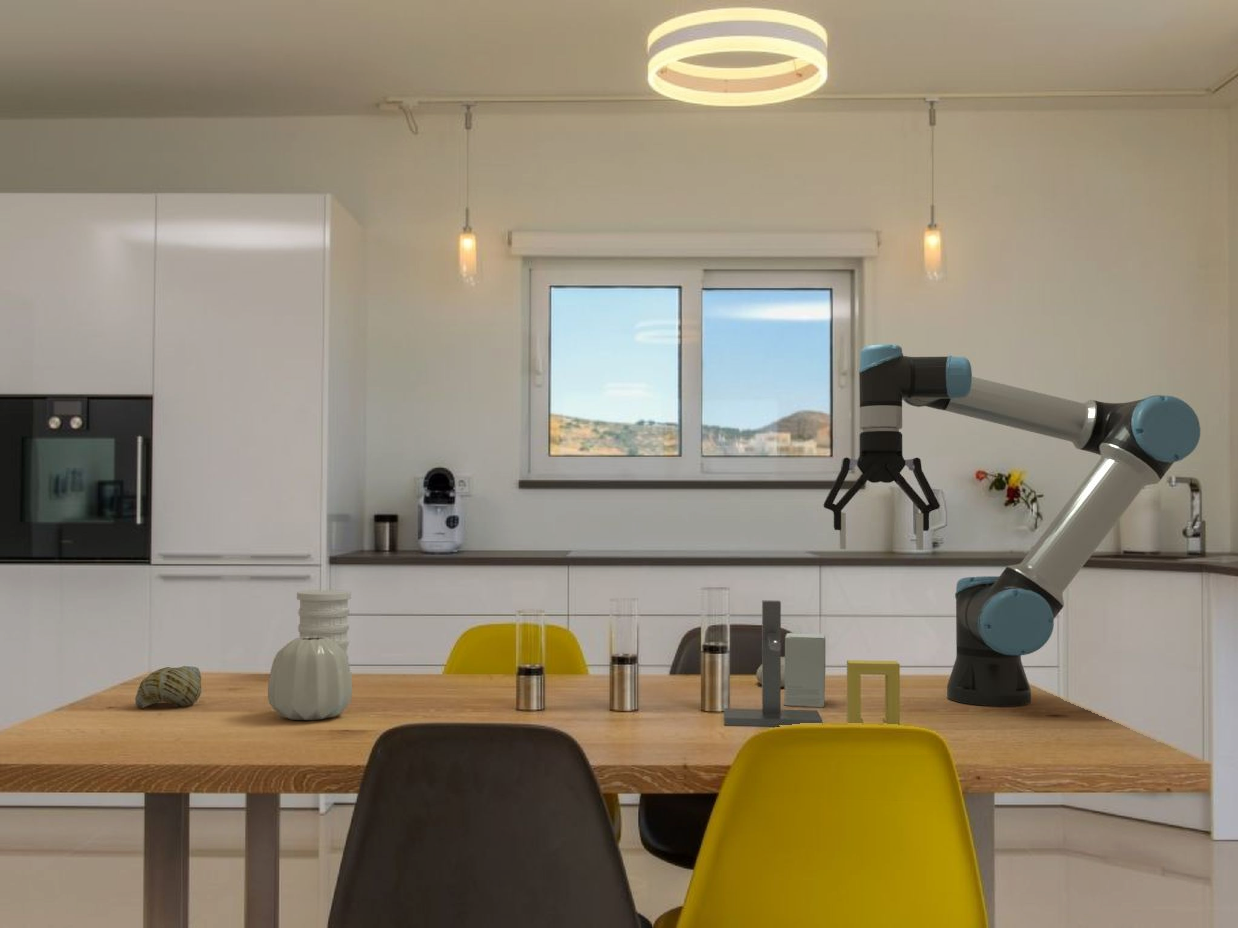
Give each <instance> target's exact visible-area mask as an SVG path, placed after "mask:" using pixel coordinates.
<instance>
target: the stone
mask: <svg viewBox="0 0 1238 928" xmlns="http://www.w3.org/2000/svg"><path fill="white" fill-rule="evenodd" d="M755 677H756V681H757V682H759V683H760V684H761V685H762V663H761V664H760V666H759V667H758V668H757V670H756V673H755ZM781 688H785V656H781Z"/></svg>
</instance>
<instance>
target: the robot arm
mask: <svg viewBox="0 0 1238 928" xmlns="http://www.w3.org/2000/svg"><path fill="white" fill-rule="evenodd" d="M859 354H860V357H859V371H858V374H859V378H858V379H859V380H858V381H859V429H860V430H862V432H860V433H859V456H858V459H854V458H849V457H844V458H842V460H841V466H840V471H839V473H838V474H837V477H836V479H835V481H834V482H833V484H832V487H831V489H830V491H829V492H828V494H827V496H826V499H825V501H824V503H823V508H824V509H827V510H829V511H831V512H832V514H833V529H834V531H839V549H840V550H846V544H847V541H846V540H847V537H846V536H847V532H846V531H847V530H846V529H847V527H846V526H847V525H846V524H847V523H846V521H847V520H846V519H847V517H846V516H847V515H846V512H842V510H843V509H844V508H845V507H846V506H847V504H848V503H849V502H850V501H851V500H852V499H853V497H854V496H856V494H857V493H858V492H859V491H860V490H861V488H862V487H863V486H864V485H865V484H866V483H867V482H870V483H872V484H873V483H874V484H875V483H876V484H877V483H885V484H887V483H889V484H890V483H893V482H894V483H895V484H897V486H898V487H899V488H900V489H901V490H902V491H903V492H904V494H906V496H907V497H908V498H909V500H911V502H912V503H913V504H914V505H915V506H916V507H917V509H918V510H919V511H920V512H915V513H916V514H915V525H916V526H915V529H916V530H915V533H916V534H915V536H916V537H915V539H916V540H915V543H916V545H915V549H916V550H919V551H924V532H929V530H930V513H931V512H932V511H936V510H939V509H940V507H941V505H940V503H939V501H938V499H937V496H936V495H935V493H934V490H933V489H932V487H931V484H930V483H929V481H928V479H927V477H926V476H925V473H924V471H923V468H922V467H923V466H922V461H921V459H920V457H914V458H911V459H905V458H904V456H903V433H902V432H901V431H900V430H901V429H903V401H904V403H906V404H907V405H908V406H909V405H910V406H912V407H916V408H921V407H928V408H932V409H934V410H935V409H936V410H941V411H945V412H949V413H953V414H958V415H962V416H965V417H970V418H974V419H978V420H982V421H986V422H989V423H994V424H998V425H1001V426H1006V427H1011V428H1014V429H1018V430H1023V431H1027V432H1031V433H1035V434H1039V435H1044V436H1045V437H1050V438H1055V439H1059V440H1062V441H1067V442H1070V443H1072V444H1073V445H1074V447H1075V449H1077V450H1081V451H1085V452H1090V453H1092V454H1095V455H1099V456H1100V459H1099V461H1098V462H1097V463H1096V465H1095V466H1094V467H1093V468H1092V469H1091V471H1090V472H1089V474H1088V475H1087V476H1086V477H1085V479H1084V480H1083V481H1082V483H1081V484H1080V485H1079V486H1078V488H1077V489H1076V490H1075V492H1074V493H1073V494H1072V496H1071V497H1070V498H1069V500H1068V501H1067V502H1066V503H1065V505H1064V506H1063V507H1062V508H1061V510H1060V512H1059V513H1057V515H1056V516H1055V518H1054V519H1053V520H1052V522H1051V523H1050V524H1049V526H1048V527H1047V529H1046V530H1045V531H1043V533H1042V535H1041V536H1040V538H1038V540H1037V542H1036V543H1035V544H1034V545H1033V547H1032V548H1031V549H1030V551H1029V552H1028V553H1027V555H1026V556H1025V557H1024V558H1023V560H1022V561H1021V562H1020V563H1018V564H1011V565H1007V566H1006V567H1005V568H1004V570H1003V571H1002V573H1001V574H1000V575H999V576H997V575H996V576H993V575H991V576H967V577H962V578H960V579H959V580H958V581H957V582H956V590H955V594H954V597H955V614H956V616H955V621H956V622H955V624H956V625H955V626H956V627H955V628H956V630H955V634H956V636H955V639H956V645H955V646H956V658H955V661H954V663H953V667H952V670H951V673H950V676H949V679H948V682H947V687H946V698H947V699H949V700H951V701H954V702H959V703H962V704H963V703H964V704H970V705H978V706H991V707H1009V706H1011V707H1012V706H1013V707H1015V706H1023V705H1028V704H1030V703H1032V690H1031V686H1030V684H1029V681H1028V677H1027V675H1026V672H1025V669H1024V668H1025V667H1024V665H1023V663H1022V656H1026V655H1030V654H1033V653H1035V652H1036V651H1038V650H1040V649H1042V647H1044V646H1045V645H1046V644H1047V642H1048V641H1049V640H1050V638H1051V636H1052V633H1053V631H1054V625H1055V618H1057V616H1058V615H1059V613H1060V612H1061V610H1062V609H1063V608H1064V606H1065V603H1064V601H1065V600H1064V597H1063V593H1064V591H1065V590H1066V589H1067V588H1068V586H1069V584H1071V583H1072V581H1074V578H1075V577H1076V576H1077V575H1078V573H1079V572H1080V571H1081V570H1082V568H1083V567H1084V565H1085V564H1086V563H1087V561H1088V560H1089V559H1090V558H1091V556H1092V555H1093V554H1094V552H1096V550H1097V548H1098V547H1099V545H1100V544H1102V542H1103V541H1104V539H1106V537H1107V536H1108V534H1109V533H1110V531H1111V530H1112V529H1113V528H1114V526H1116V525H1115V524H1117V522H1118V521H1119V520H1120V519H1121V517H1122V516H1123V514H1125V512H1126V511H1127V509H1128V508H1129V506H1131V504H1132V503H1133V502H1134V500H1135V499H1136V497H1138V495H1139V494H1140V493H1141V491H1142V490H1143V488H1145V486H1149V485H1155V484H1159V482H1161V480H1162V479H1163V477H1165V475H1166V474H1167V473H1168V471H1169V469H1170V468H1171V467H1172V466H1173V465H1174V463H1176V462H1180V461H1182V460H1184V459H1185V458H1187V457H1188V456H1190V455H1191V454H1192V453H1193V452H1194V451H1195V449H1196V448H1197V446H1198V444H1199V441H1200V438H1201V425H1200V422H1199V421H1200V420H1199V418H1198V415H1197V414H1196V412H1195V410H1194V409H1193V407H1191V405H1189V404H1188V403H1187V402H1185V401H1184V400H1183V399H1181V398H1178V397H1175V396H1171V395H1162V394H1155V395H1149V396H1146V397H1145V398H1142V399H1137V400H1133V401H1128V402H1120V403H1119V402H1116V403H1115V402H1114V403H1113V402H1103V401H1098V400H1094V399H1089V400H1086V401H1085V402H1079V401H1075V400H1070V399H1067V398H1061V397H1058V396H1053V395H1051V394H1050V395H1049V394H1046V393H1043V392H1042V393H1041V392H1038V391H1033V390H1030V389H1029V390H1028V389H1025V388H1020V387H1017V386H1011V385H1008V384H1004V383H1000V382H996V381H991V380H988V379H982V378H980V377H979V378H978V377H975V376H973V374H972V373H973V372H972V365H971V362H970V360H969V359H968V358H967V357H965V356H964V357H963V356H952V355H948V356H907V355H904V353H903V347H902V346H900V345H899V344H890V343H879V344H878V343H877V344H869V345H865V346H864V347H863V348H862V349H861V350H860V353H859ZM855 466H857V468H858V470H859V471H860V472H861V473H862V474H861V475H859V477H858V478H857V479H856V481H855V482H854V483H853V484H852V485H851V487H849V489H848V490H847V491H846V492H845V494H844V495H843V496H842V497H841V498H840V499H839V501H838V502H837V503H836V504H835V503H834V502H835V499H836V498H837V496H838V494H839V492H840V490H841V488H842V486H843V484H844V483H845V480H846V479H847V476H848V474H849V472H850V471H852V470H853V469H854V467H855ZM905 467H907V468H908V470H909V471H912V472H913V475H914V477H915V480H916V482H917V483H918V485H919V487H920V490H921V491H922V493H923V495H924V497H925V499H926V501H927V503H928V504H927V503H926V502H925V500H923V498H921V496H920V495H919V494H918V493H917V491H915V490H914V488H913V487H912V486H911V485H910V484H909V483H908V482H907V480H906V479H905V477H904V476H903V475H902V474H901V473H902V471H903V470H904V468H905Z"/></svg>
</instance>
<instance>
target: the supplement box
mask: <svg viewBox="0 0 1238 928" xmlns="http://www.w3.org/2000/svg"><path fill="white" fill-rule="evenodd" d="M784 640H785V641H784V657H785V687H784V702H783V703H784V706H788V707H790V706H791V707H809V708H811V707H812V708H824V707H825V696H826V695H825V694H826V634H825V633H802V632H801V633H800V632H799V633H798V632H796V633H795V632H794V633H793V632H792V633H791V632H789V633H786V634H785V637H784Z"/></svg>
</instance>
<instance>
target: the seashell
mask: <svg viewBox="0 0 1238 928" xmlns="http://www.w3.org/2000/svg"><path fill="white" fill-rule="evenodd" d="M201 694H202V675H201V671H200V669H199V668H198V667H196V666H187V665H183V666H178V667H171V666H166V667H163V668H159V669H156V670H155V671H153V672H151V673H149V675H147V676H146V677H145V678H144V679H143V680H142V681H141V682H140V684H139V686H138V689H137V692H136V695H135V705H136V706H135V707H136V708H137V709H144V708H147V707H148V706H152V705H154V704H158V703H167V704H170V705H174V706H176V707H188V706H189V707H190V706H192V705H193V704H194V703H197V701H198V700H199V698H200V697H201Z"/></svg>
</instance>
